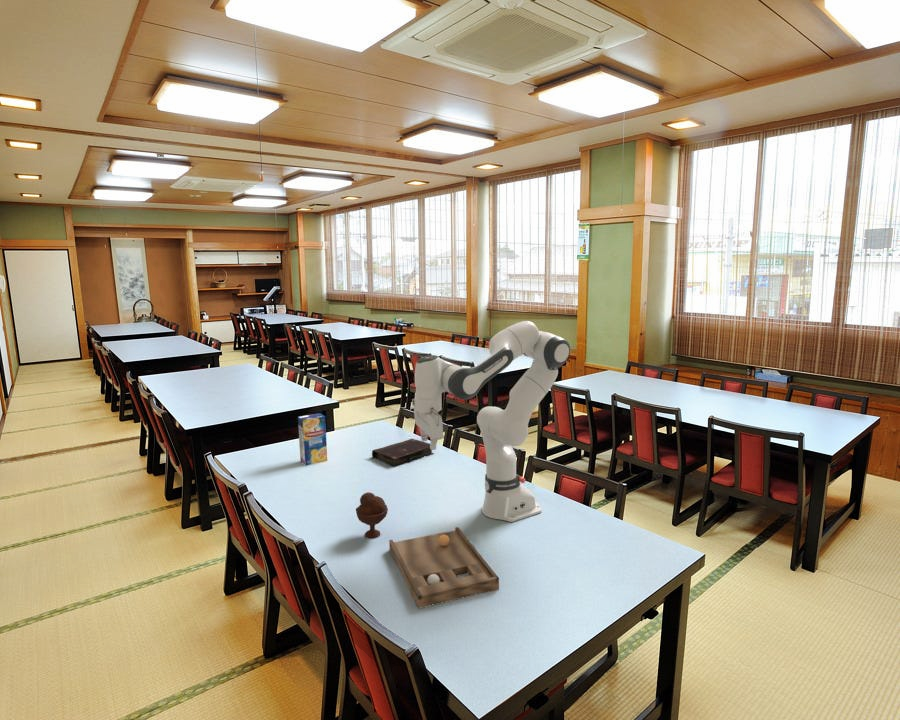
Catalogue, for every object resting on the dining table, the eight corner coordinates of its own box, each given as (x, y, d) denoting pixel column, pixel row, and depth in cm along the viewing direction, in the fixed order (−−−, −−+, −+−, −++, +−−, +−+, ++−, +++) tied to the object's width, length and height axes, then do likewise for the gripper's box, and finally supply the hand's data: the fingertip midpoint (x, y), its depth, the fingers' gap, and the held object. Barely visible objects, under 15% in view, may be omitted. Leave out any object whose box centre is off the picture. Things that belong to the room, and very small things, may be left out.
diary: (371, 459, 256) (371, 449, 255) (411, 446, 273) (411, 437, 272) (395, 468, 243) (394, 458, 242) (435, 455, 260) (435, 445, 259)
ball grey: (437, 581, 154) (437, 570, 154) (441, 588, 151) (441, 577, 150) (425, 584, 153) (425, 573, 152) (429, 591, 150) (429, 579, 149)
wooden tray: (458, 536, 180) (458, 527, 179) (498, 589, 150) (499, 577, 150) (389, 550, 172) (389, 540, 171) (418, 608, 142) (418, 596, 142)
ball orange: (447, 541, 172) (447, 531, 171) (451, 547, 168) (451, 536, 168) (436, 544, 170) (436, 533, 170) (440, 549, 167) (440, 538, 167)
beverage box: (300, 461, 251) (297, 416, 248) (322, 456, 258) (320, 413, 254) (305, 465, 246) (302, 420, 242) (327, 460, 252) (325, 416, 248)
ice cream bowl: (358, 545, 175) (357, 502, 172) (355, 529, 186) (353, 489, 183) (390, 540, 178) (389, 498, 175) (385, 525, 188) (384, 485, 186)
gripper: (447, 411, 165) (447, 453, 168) (428, 397, 184) (428, 435, 187) (428, 413, 163) (429, 456, 165) (410, 398, 182) (411, 437, 184)
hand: (428, 444), depth 176 cm, fingers open, 8 cm apart
